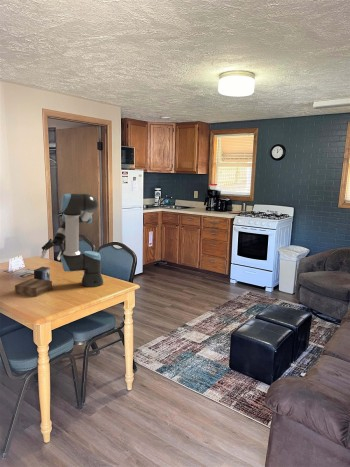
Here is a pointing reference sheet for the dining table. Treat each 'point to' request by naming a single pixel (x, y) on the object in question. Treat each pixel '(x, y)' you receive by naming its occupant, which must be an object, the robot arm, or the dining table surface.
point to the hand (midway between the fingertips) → (49, 258)
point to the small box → (42, 273)
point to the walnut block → (33, 287)
